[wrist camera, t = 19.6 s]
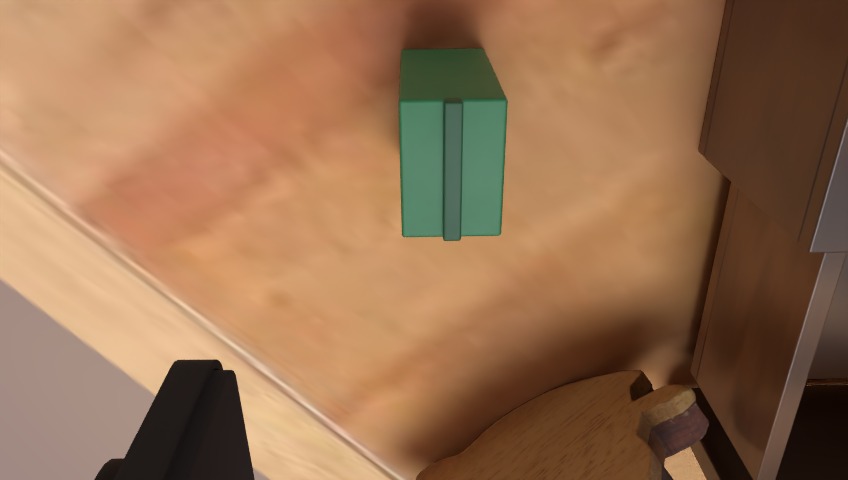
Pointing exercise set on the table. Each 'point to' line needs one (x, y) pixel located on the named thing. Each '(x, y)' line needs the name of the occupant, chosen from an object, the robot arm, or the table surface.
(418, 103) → the green box with strap
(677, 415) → the wooden carving
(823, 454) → the drawer
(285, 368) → the table surface
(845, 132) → the cabinet
